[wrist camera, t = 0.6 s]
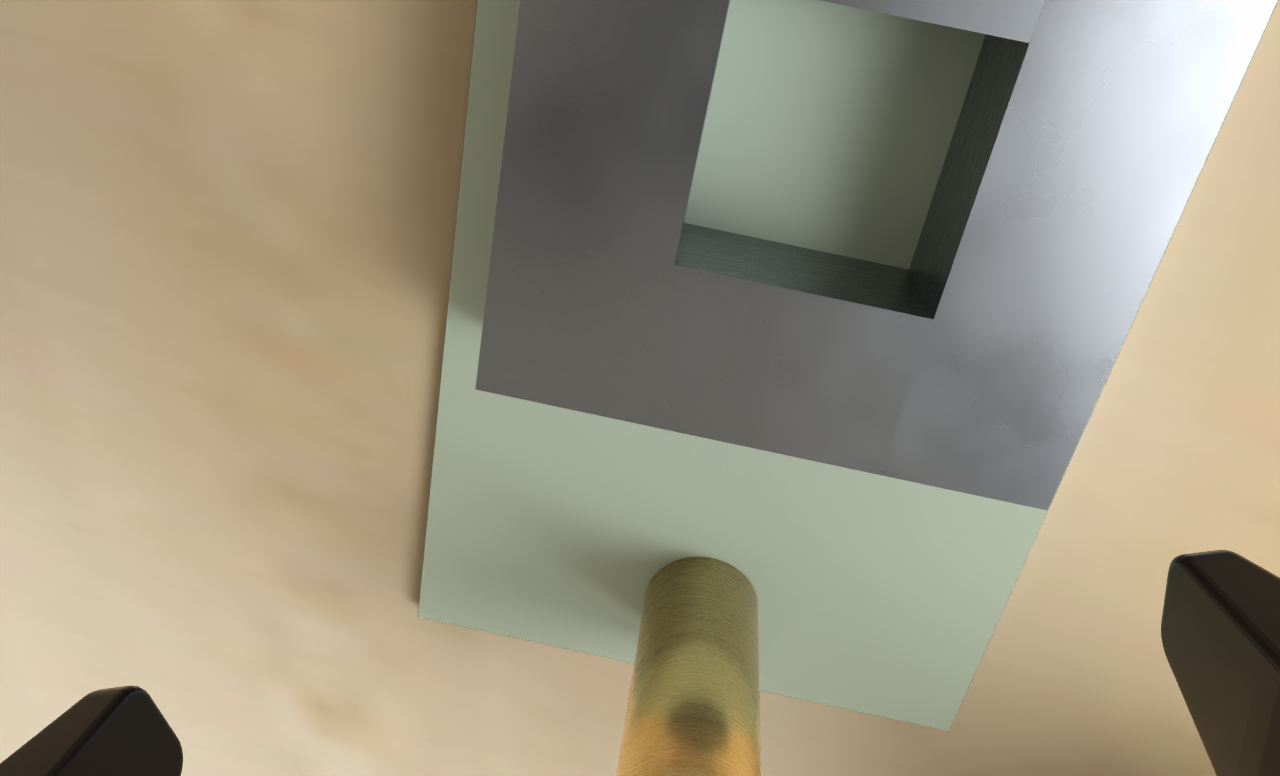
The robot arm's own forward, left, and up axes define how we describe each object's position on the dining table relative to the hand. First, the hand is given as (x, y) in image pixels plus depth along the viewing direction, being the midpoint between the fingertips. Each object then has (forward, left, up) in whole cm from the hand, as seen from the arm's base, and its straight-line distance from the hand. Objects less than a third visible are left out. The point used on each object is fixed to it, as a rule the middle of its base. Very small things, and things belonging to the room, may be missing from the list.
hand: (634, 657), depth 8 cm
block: (+3, -2, -14) cm, 14 cm away
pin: (-10, -2, -14) cm, 17 cm away
